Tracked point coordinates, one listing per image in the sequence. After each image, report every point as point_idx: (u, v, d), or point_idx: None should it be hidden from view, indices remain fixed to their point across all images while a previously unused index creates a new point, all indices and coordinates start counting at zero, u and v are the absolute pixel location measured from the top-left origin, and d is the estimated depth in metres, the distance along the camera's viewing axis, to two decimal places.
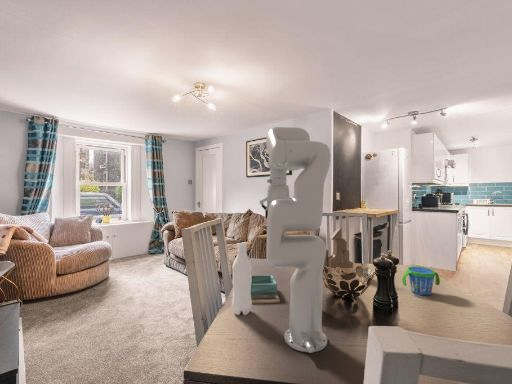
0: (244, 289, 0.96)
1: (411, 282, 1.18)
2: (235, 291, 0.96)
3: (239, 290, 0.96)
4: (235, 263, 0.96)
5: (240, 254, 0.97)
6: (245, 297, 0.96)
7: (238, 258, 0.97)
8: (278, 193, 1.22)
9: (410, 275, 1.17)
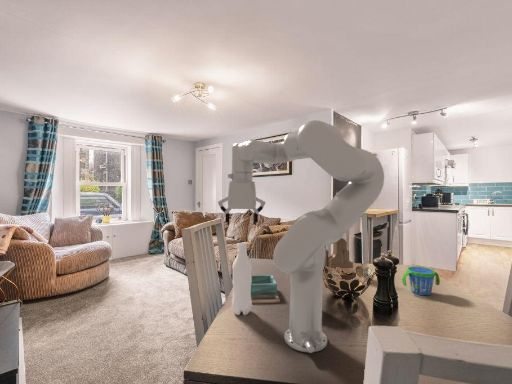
0: (244, 289, 0.96)
1: (411, 282, 1.18)
2: (235, 291, 0.96)
3: (239, 290, 0.96)
4: (235, 263, 0.96)
5: (240, 254, 0.97)
6: (245, 297, 0.96)
7: (238, 258, 0.97)
8: (241, 191, 0.95)
9: (410, 275, 1.17)
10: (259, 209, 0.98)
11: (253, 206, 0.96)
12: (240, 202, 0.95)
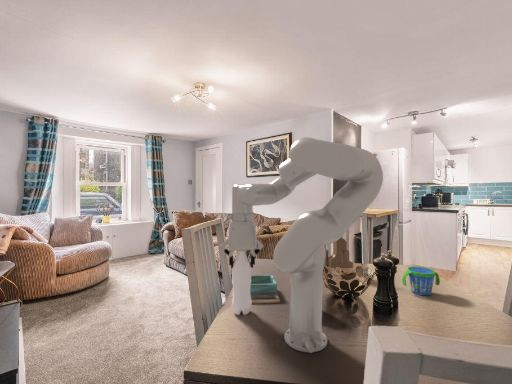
0: (244, 289, 0.96)
1: (411, 282, 1.18)
2: (235, 291, 0.96)
3: (239, 290, 0.96)
4: (234, 263, 0.97)
5: (239, 254, 0.97)
6: (245, 296, 0.96)
7: (237, 258, 0.97)
8: (242, 233, 0.96)
9: (410, 275, 1.17)
10: (256, 251, 0.98)
11: (253, 247, 0.96)
12: (240, 244, 0.96)
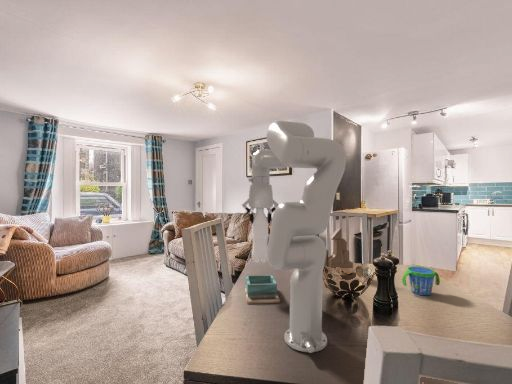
0: (262, 240, 1.13)
1: (411, 282, 1.18)
2: (254, 243, 1.13)
3: (258, 241, 1.13)
4: (254, 219, 1.14)
5: (258, 211, 1.14)
6: (263, 247, 1.14)
7: (257, 215, 1.14)
8: (260, 193, 1.13)
9: (410, 275, 1.17)
10: (272, 210, 1.15)
11: (270, 205, 1.13)
12: (259, 202, 1.13)
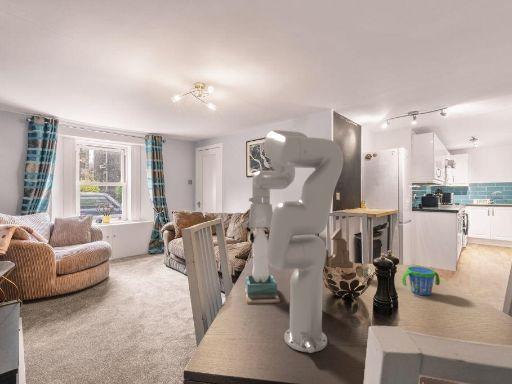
0: (262, 260, 1.14)
1: (411, 282, 1.18)
2: (255, 262, 1.14)
3: (259, 261, 1.13)
4: (255, 238, 1.14)
5: (258, 231, 1.15)
6: (264, 267, 1.14)
7: (257, 234, 1.15)
8: (261, 213, 1.13)
9: (410, 275, 1.17)
10: None
11: (271, 225, 1.14)
12: (260, 222, 1.13)
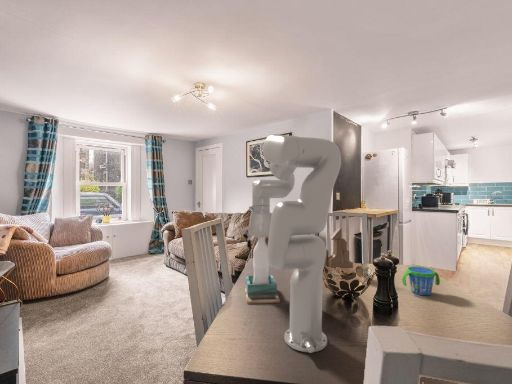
0: (263, 271, 1.14)
1: (411, 282, 1.18)
2: (255, 272, 1.14)
3: (259, 271, 1.13)
4: (256, 249, 1.14)
5: (260, 241, 1.15)
6: (264, 277, 1.14)
7: (258, 244, 1.15)
8: (261, 221, 1.13)
9: (410, 275, 1.17)
10: None
11: None
12: (260, 230, 1.13)
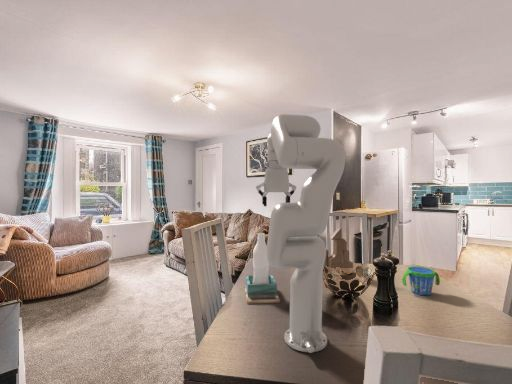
0: (263, 271, 1.13)
1: (411, 282, 1.18)
2: (255, 273, 1.14)
3: (259, 271, 1.13)
4: (255, 249, 1.14)
5: (259, 241, 1.15)
6: (264, 277, 1.14)
7: (258, 245, 1.14)
8: (277, 177, 1.11)
9: (410, 275, 1.17)
10: (291, 192, 1.14)
11: (287, 190, 1.12)
12: (276, 186, 1.11)
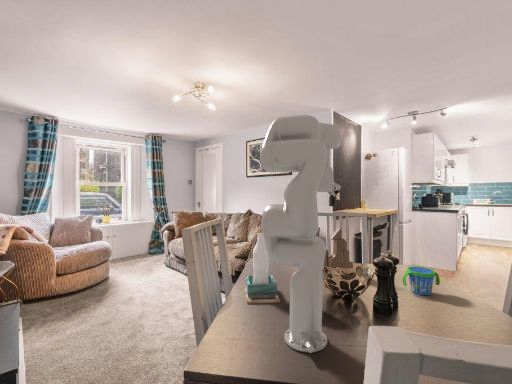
0: (263, 271, 1.13)
1: (411, 282, 1.18)
2: (255, 273, 1.14)
3: (259, 271, 1.13)
4: (255, 249, 1.14)
5: (259, 241, 1.15)
6: (264, 277, 1.14)
7: (258, 245, 1.14)
8: (322, 176, 1.07)
9: (410, 275, 1.17)
10: (336, 192, 1.09)
11: (332, 189, 1.07)
12: (320, 186, 1.06)
